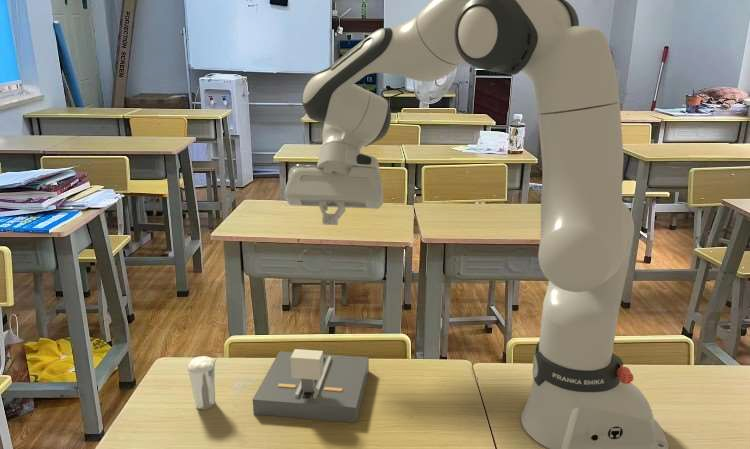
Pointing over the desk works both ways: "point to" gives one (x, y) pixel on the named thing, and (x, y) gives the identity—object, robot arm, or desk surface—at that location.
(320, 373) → the fader tab
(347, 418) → the fader console
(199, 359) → the milkshake
